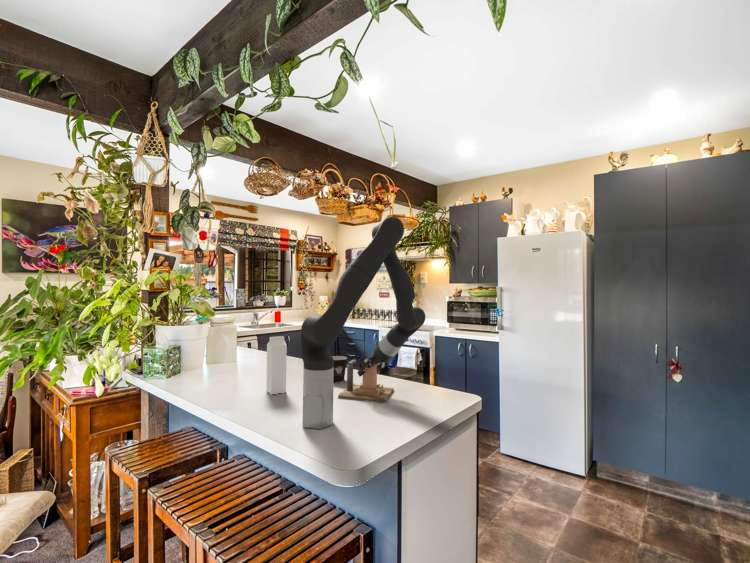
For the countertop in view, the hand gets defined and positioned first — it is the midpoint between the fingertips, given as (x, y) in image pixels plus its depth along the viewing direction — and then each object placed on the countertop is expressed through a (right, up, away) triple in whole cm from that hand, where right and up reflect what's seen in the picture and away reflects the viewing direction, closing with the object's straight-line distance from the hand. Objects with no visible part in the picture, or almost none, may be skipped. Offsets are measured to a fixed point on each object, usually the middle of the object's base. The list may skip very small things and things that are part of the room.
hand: (367, 372), depth 147 cm
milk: (-36, -8, 0) cm, 37 cm away
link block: (+1, -7, -1) cm, 7 cm away
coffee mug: (-15, -8, +20) cm, 26 cm away
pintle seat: (0, -8, -1) cm, 8 cm away
